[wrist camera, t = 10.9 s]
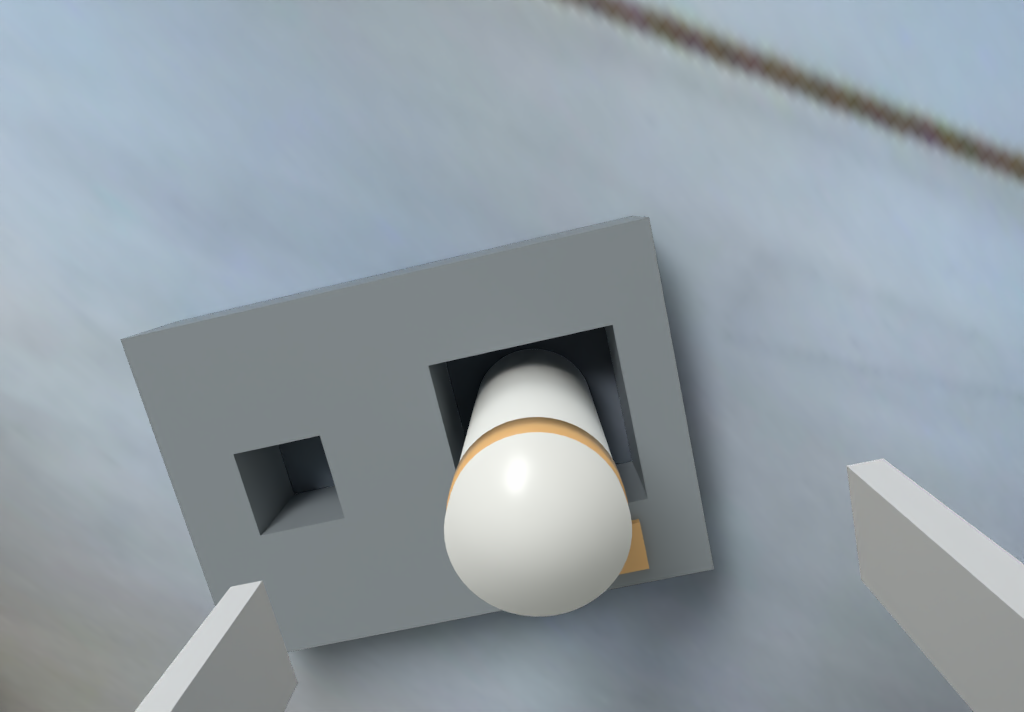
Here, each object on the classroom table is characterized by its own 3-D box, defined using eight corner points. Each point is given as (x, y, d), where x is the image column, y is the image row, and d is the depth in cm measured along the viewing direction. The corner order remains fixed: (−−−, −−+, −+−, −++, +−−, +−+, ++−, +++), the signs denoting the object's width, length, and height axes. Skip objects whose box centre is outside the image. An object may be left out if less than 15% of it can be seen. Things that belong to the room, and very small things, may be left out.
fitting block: (632, 215, 28) (650, 217, 24) (690, 523, 31) (715, 573, 27) (174, 322, 29) (115, 341, 25) (270, 607, 32) (232, 667, 28)
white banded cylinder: (579, 336, 29) (613, 422, 17) (602, 446, 30) (650, 598, 18) (463, 361, 29) (421, 463, 18) (490, 469, 30) (467, 633, 19)
